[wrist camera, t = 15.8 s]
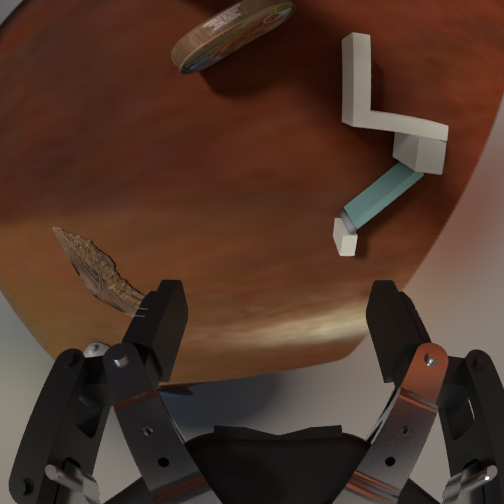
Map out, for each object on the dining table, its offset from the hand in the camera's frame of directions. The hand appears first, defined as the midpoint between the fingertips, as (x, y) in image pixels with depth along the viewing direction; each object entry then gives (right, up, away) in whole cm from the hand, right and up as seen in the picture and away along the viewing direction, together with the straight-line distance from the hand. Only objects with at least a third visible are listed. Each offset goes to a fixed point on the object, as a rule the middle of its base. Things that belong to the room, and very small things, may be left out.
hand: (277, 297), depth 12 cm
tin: (-3, +28, +16) cm, 33 cm away
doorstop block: (+20, +16, +21) cm, 33 cm away
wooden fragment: (-30, -2, +37) cm, 48 cm away
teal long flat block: (+16, +10, +25) cm, 31 cm away
